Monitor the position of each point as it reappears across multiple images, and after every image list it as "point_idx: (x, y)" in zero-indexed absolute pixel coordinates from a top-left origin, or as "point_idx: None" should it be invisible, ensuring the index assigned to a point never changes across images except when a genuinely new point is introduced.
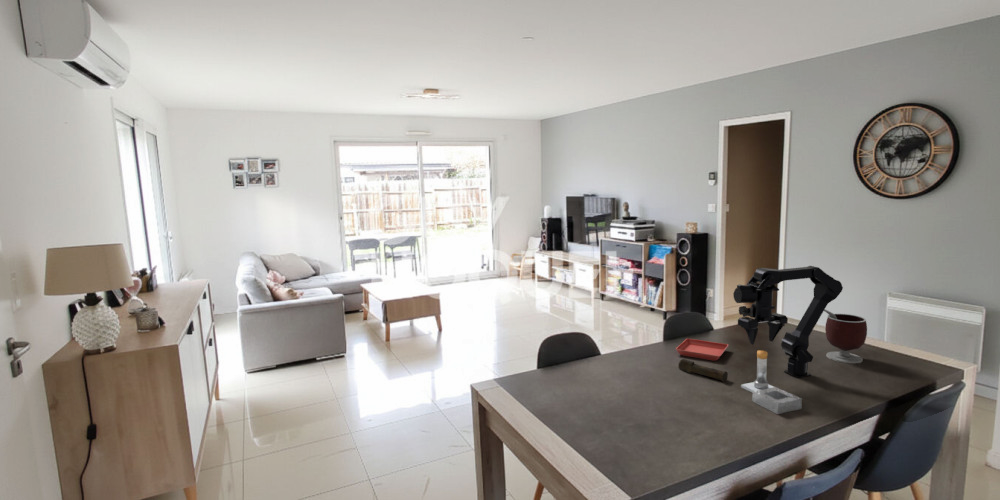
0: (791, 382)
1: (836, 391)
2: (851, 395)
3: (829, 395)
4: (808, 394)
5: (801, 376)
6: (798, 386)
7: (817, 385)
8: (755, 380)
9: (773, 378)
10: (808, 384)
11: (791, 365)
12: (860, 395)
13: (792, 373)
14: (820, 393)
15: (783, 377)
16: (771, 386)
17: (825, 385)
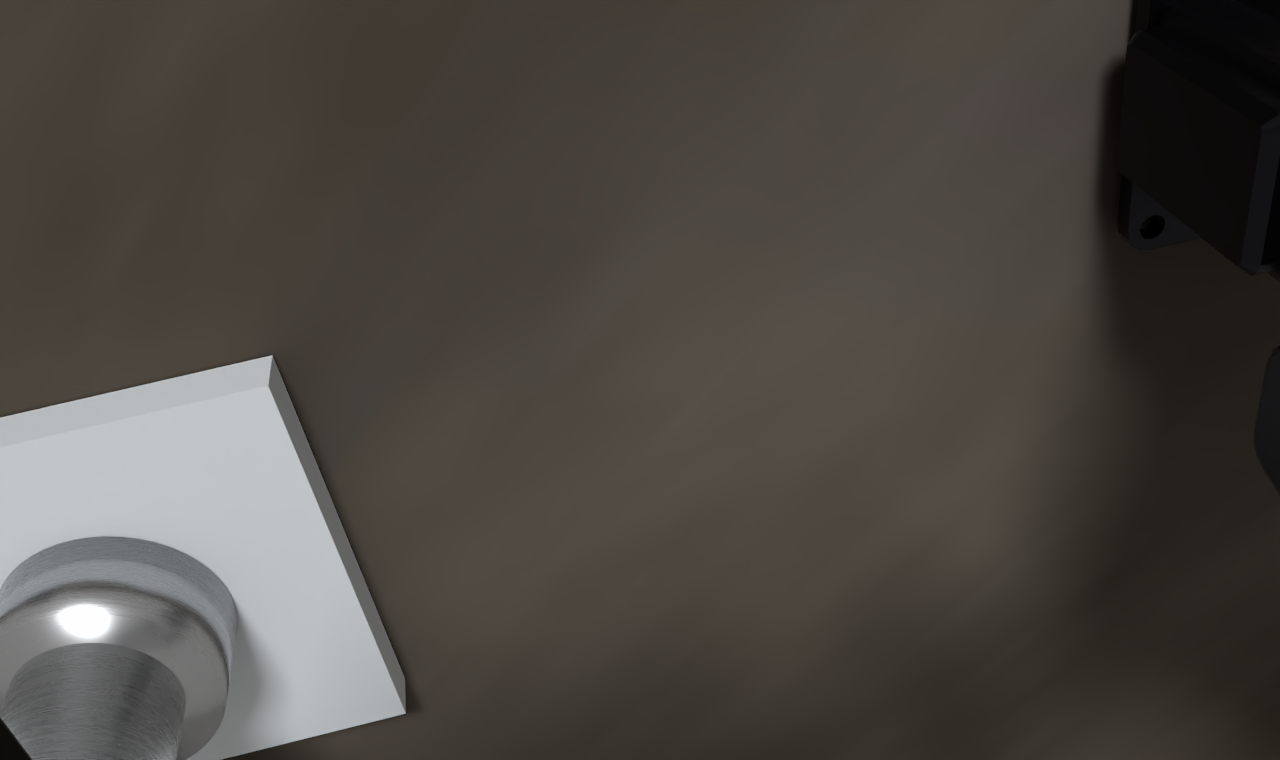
0: (849, 374)
1: (1134, 663)
2: (1171, 747)
3: (950, 744)
4: (734, 720)
5: (1191, 236)
6: (822, 512)
7: (1106, 503)
8: (5, 649)
9: (682, 172)
10: (1024, 464)
11: (1226, 210)
12: (1254, 748)
13: (1125, 170)
14: (902, 701)
15: (904, 157)
16: (324, 604)
17: (1202, 511)
